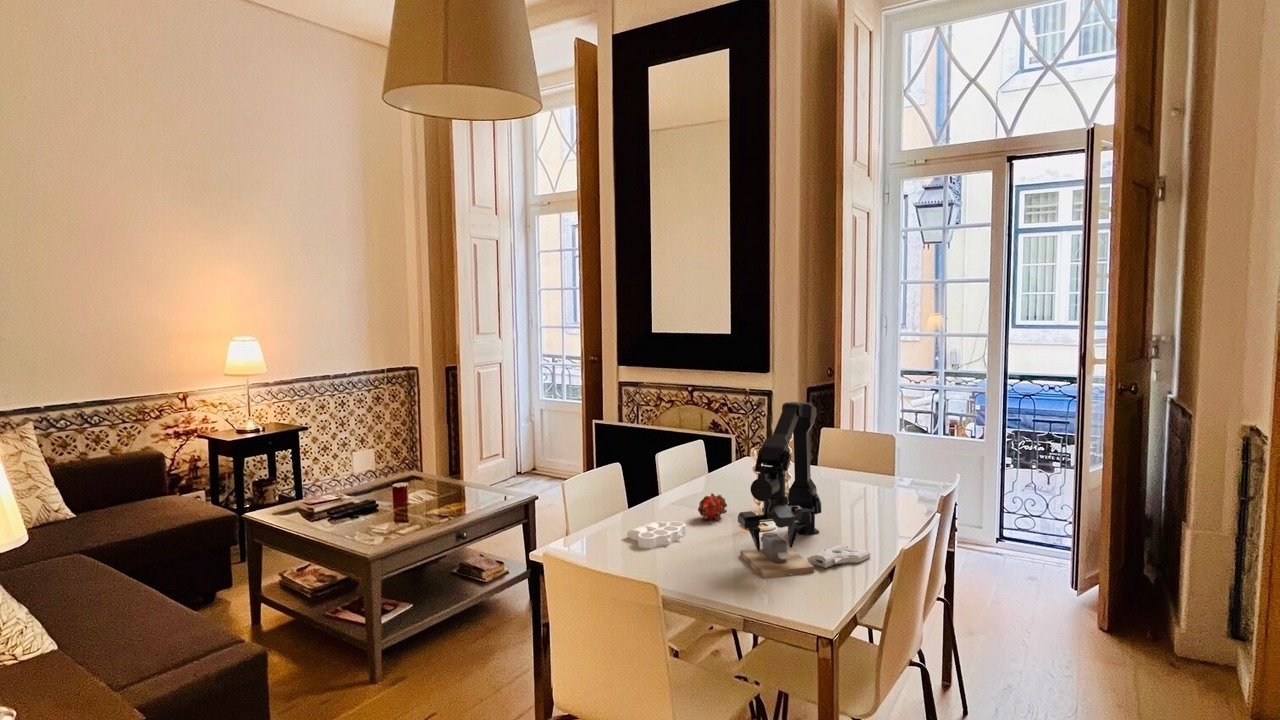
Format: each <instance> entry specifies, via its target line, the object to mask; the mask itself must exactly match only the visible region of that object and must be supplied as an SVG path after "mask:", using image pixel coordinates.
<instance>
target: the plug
mask: <svg viewBox="0 0 1280 720" xmlns="http://www.w3.org/2000/svg"><path fill="white" fill-rule="evenodd" d="M760 543H762V545H761V548H762V553H763V554H764V555H765V556H766V557H767V558H769V559H770V560H771V561H772V562H774V563H777V564H783V563H786V562H787V559H789V558H790V554H789V553H787V546H788V542H787V541H786V540H785V539H784V538H782V537H781V536H780V535H779V534H777V533H776V532H769V531H768V532H763V533H762V536H761V537H760Z"/></svg>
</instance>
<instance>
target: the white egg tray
mask: <svg viewBox="0 0 1280 720" xmlns="http://www.w3.org/2000/svg"><path fill="white" fill-rule="evenodd" d="M686 527H687V525H686V523H684V522H682V521H669V522H668V521H667V522H666V521H665V522H664V521H661V520H654V521H653V522H651V523H650V522H649V523H647V524H644V525H641V526H639V527H637V528H633V529H630V530H628V531H627V533H626V535H627V537H628V538H629V539H630V538H631V539H630V540H633V539H634V541H637V546H638V547H639V548H641V547H642V548H641V549H647V548H650V549H655V548H657V547H662V546H668V545H671V544H672V543H676V542H679V541H680V540H681V539H682V538H685V536H686V535H687V528H686Z"/></svg>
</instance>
